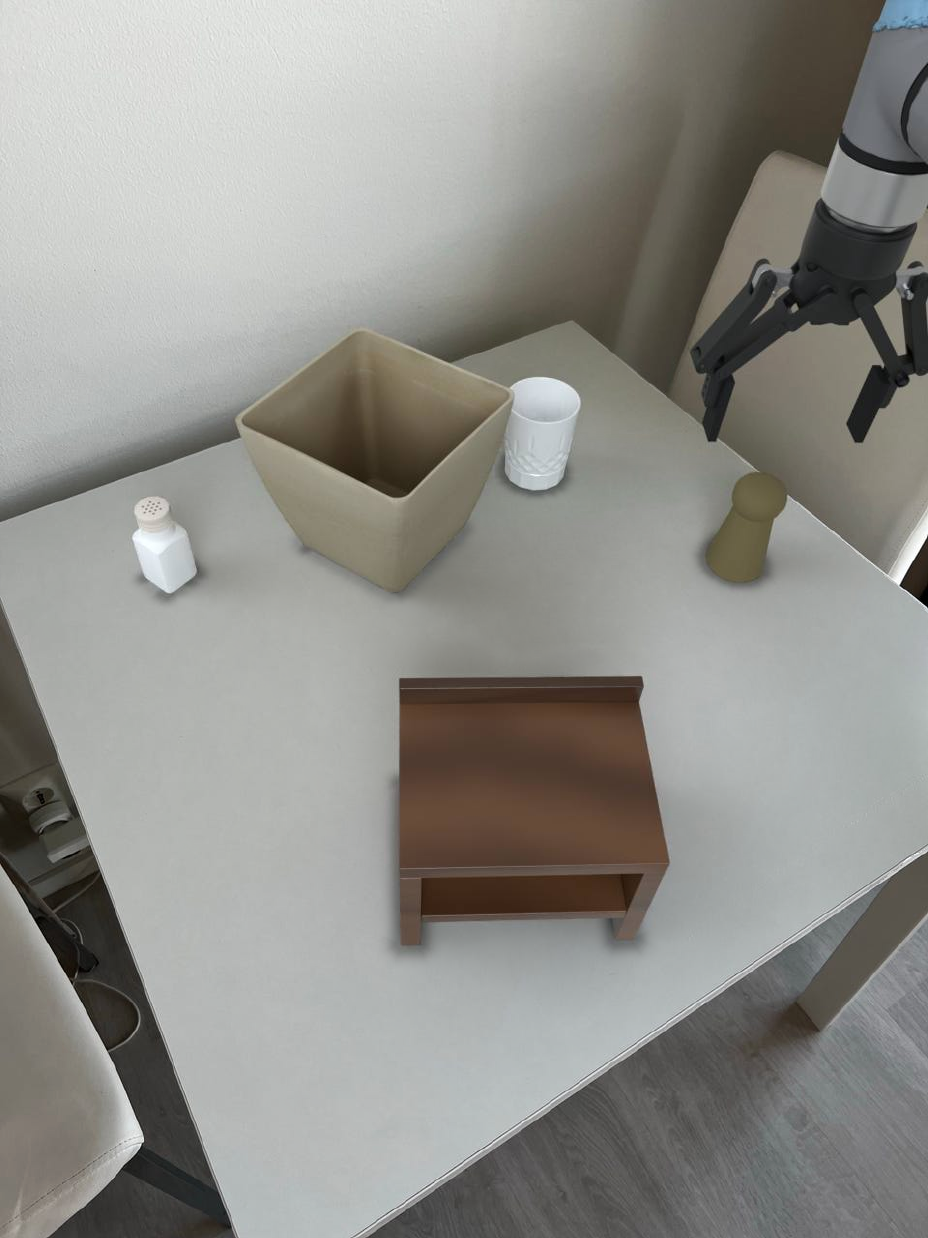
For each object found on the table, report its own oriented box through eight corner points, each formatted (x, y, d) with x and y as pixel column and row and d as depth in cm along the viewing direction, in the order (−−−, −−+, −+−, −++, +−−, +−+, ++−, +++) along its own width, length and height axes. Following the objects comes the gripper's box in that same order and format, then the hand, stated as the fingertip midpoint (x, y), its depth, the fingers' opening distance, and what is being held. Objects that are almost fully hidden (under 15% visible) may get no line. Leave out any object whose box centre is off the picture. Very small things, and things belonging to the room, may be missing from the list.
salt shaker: (170, 597, 93) (149, 529, 86) (142, 578, 95) (120, 509, 87) (200, 574, 95) (183, 505, 88) (173, 556, 97) (153, 486, 89)
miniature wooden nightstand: (633, 940, 73) (676, 850, 61) (400, 946, 72) (398, 855, 60) (608, 781, 82) (642, 675, 70) (401, 784, 81) (399, 677, 69)
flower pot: (253, 548, 98) (228, 418, 85) (365, 451, 108) (358, 321, 95) (402, 632, 92) (400, 505, 79) (506, 520, 102) (519, 391, 89)
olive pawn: (706, 536, 102) (733, 457, 93) (763, 546, 101) (795, 468, 93) (704, 576, 98) (732, 498, 90) (763, 587, 97) (796, 509, 89)
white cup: (582, 471, 108) (595, 400, 100) (537, 505, 104) (547, 433, 96) (530, 439, 111) (539, 367, 103) (484, 470, 107) (490, 398, 99)
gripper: (1010, 187, 73) (900, 407, 90) (693, 179, 72) (641, 405, 88) (1052, 237, 69) (928, 460, 85) (714, 231, 67) (654, 459, 84)
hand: (781, 433), depth 87 cm, fingers open, 13 cm apart
